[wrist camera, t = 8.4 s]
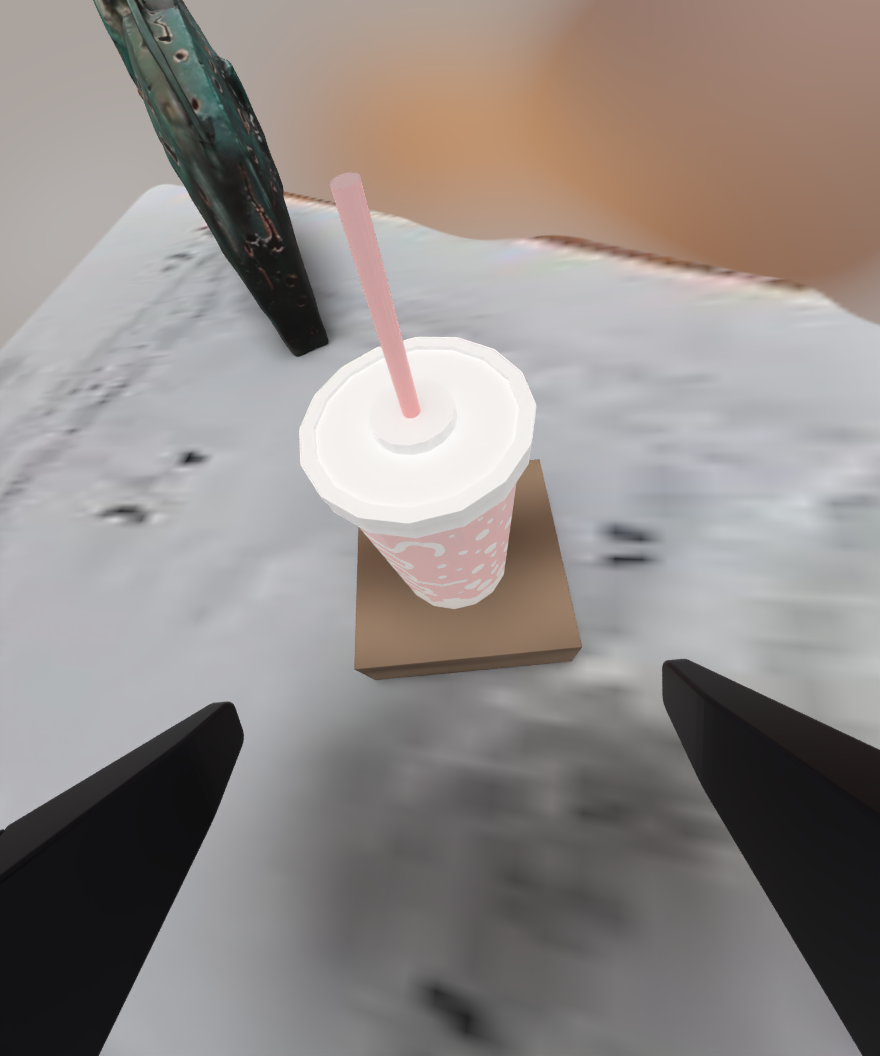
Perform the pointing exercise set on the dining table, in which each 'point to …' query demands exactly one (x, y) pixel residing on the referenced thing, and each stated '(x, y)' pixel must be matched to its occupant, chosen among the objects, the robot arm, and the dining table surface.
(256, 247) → the ceramic cat
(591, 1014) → the dining table surface
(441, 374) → the beverage cup
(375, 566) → the walnut block
